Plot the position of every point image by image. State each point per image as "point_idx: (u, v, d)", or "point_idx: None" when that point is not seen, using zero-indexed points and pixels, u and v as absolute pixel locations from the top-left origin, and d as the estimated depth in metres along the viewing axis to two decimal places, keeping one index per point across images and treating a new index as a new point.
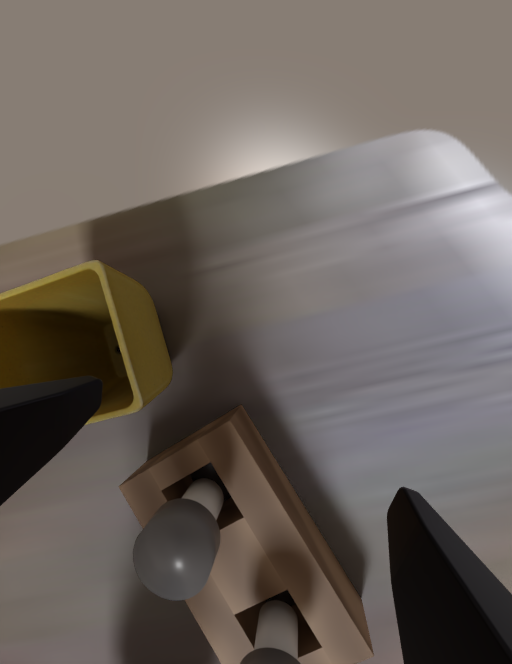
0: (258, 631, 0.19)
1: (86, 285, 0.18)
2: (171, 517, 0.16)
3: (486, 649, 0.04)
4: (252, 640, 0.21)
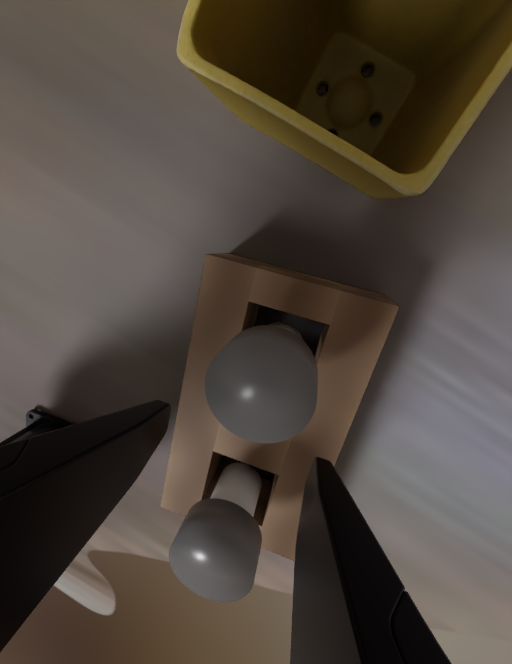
0: (229, 481, 0.18)
1: None
2: (301, 355, 0.11)
3: (333, 586, 0.05)
4: (207, 476, 0.20)
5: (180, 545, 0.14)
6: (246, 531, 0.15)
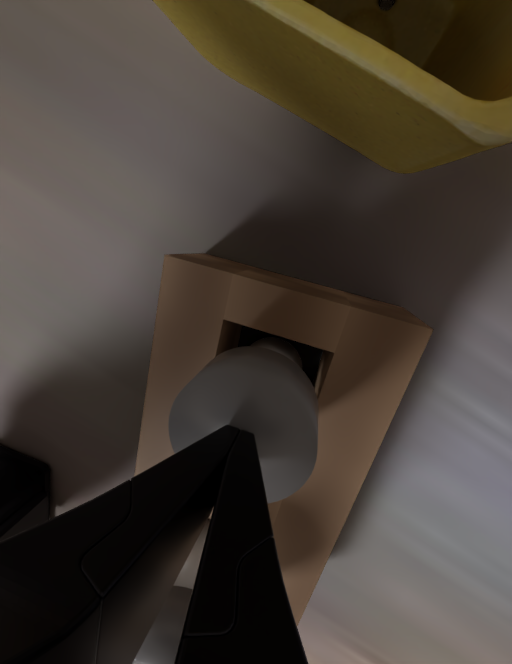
0: (202, 550, 0.14)
1: None
2: (296, 393, 0.08)
3: None
4: None
5: None
6: None
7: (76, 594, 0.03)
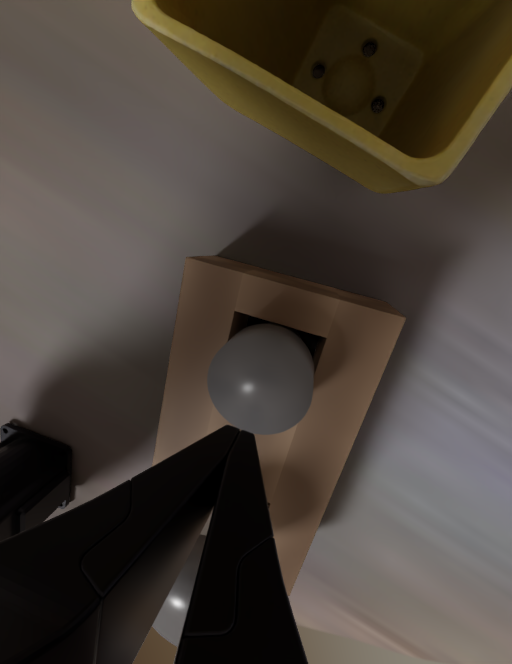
0: None
1: None
2: (298, 351, 0.11)
3: None
4: None
5: None
6: None
7: (76, 594, 0.03)
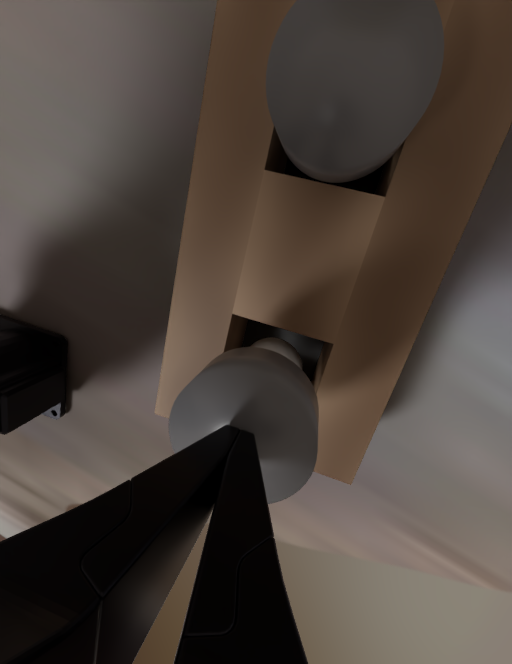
0: None
1: None
2: None
3: None
4: None
5: (188, 403, 0.08)
6: (299, 383, 0.09)
7: (77, 594, 0.03)
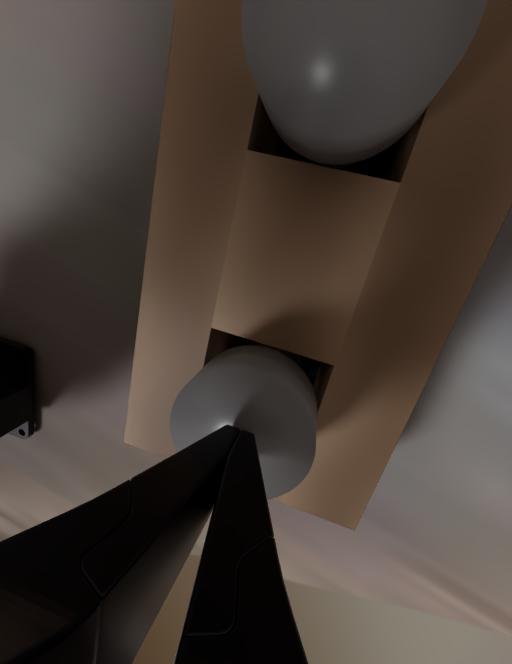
0: None
1: None
2: None
3: None
4: None
5: (189, 400, 0.09)
6: (298, 381, 0.09)
7: (77, 592, 0.03)
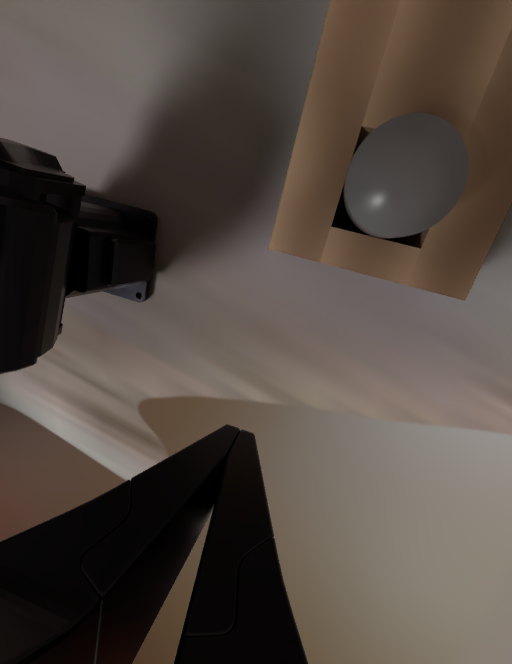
0: None
1: None
2: None
3: None
4: None
5: (367, 150, 0.12)
6: None
7: (76, 594, 0.03)
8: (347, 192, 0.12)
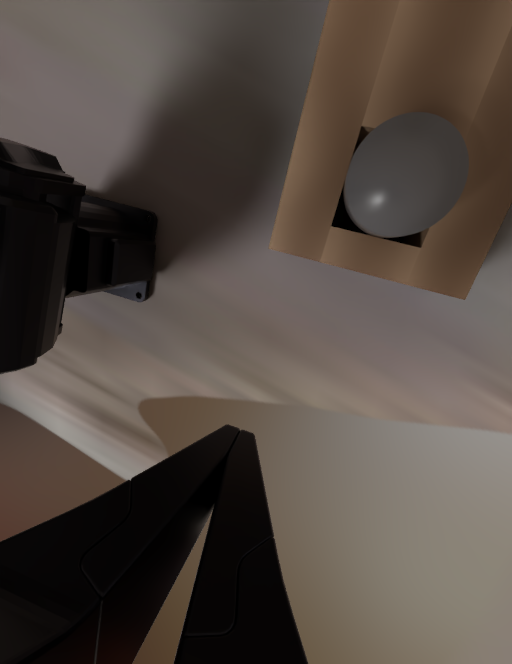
0: None
1: None
2: None
3: None
4: (344, 181, 0.14)
5: (367, 150, 0.12)
6: None
7: (77, 593, 0.03)
8: (347, 191, 0.12)
